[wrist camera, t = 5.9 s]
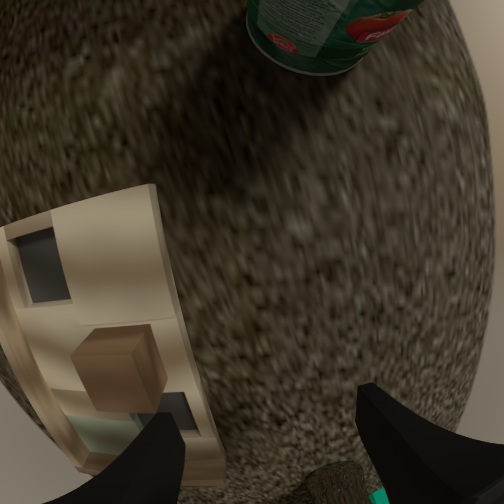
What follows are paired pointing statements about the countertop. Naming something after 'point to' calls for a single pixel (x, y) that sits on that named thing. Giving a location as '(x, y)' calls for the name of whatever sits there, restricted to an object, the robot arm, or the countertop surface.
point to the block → (121, 369)
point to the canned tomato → (322, 31)
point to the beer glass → (338, 484)
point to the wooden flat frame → (100, 325)
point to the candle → (379, 497)
